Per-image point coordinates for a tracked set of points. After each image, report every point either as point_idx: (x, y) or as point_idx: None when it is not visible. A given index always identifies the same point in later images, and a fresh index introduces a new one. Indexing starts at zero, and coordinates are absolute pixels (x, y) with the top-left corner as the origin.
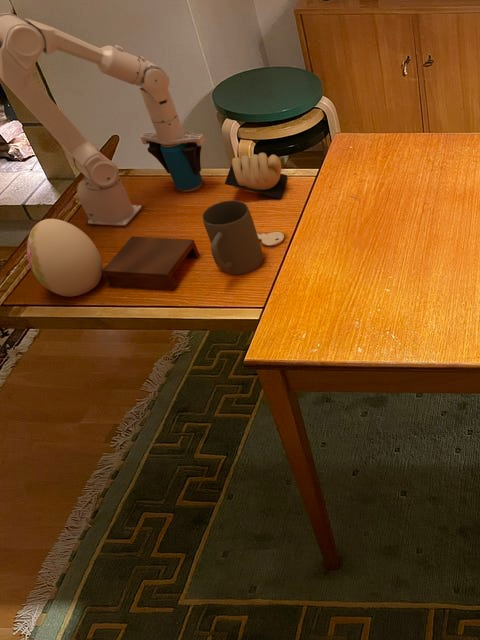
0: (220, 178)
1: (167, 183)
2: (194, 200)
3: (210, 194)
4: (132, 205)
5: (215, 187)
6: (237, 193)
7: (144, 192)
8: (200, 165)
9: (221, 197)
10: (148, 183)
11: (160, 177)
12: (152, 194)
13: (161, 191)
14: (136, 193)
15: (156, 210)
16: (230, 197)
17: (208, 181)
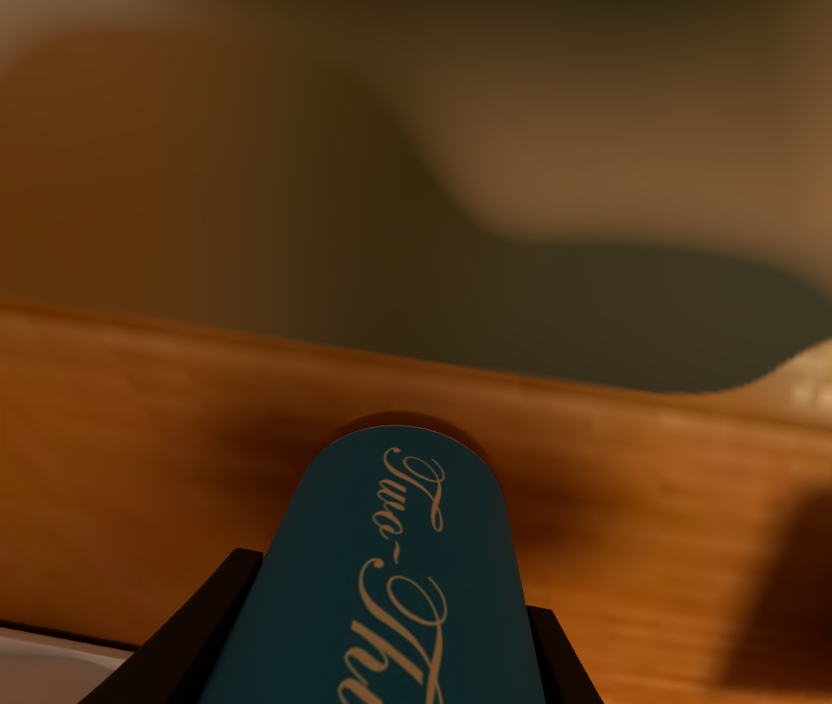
0: (627, 425)
1: (209, 431)
2: None
3: (566, 601)
4: (118, 664)
5: (594, 535)
6: (748, 618)
7: (99, 516)
8: (576, 656)
9: (641, 639)
10: (55, 409)
11: (103, 332)
12: (169, 545)
13: (214, 523)
14: (49, 519)
15: None
16: (699, 647)
17: (532, 453)
